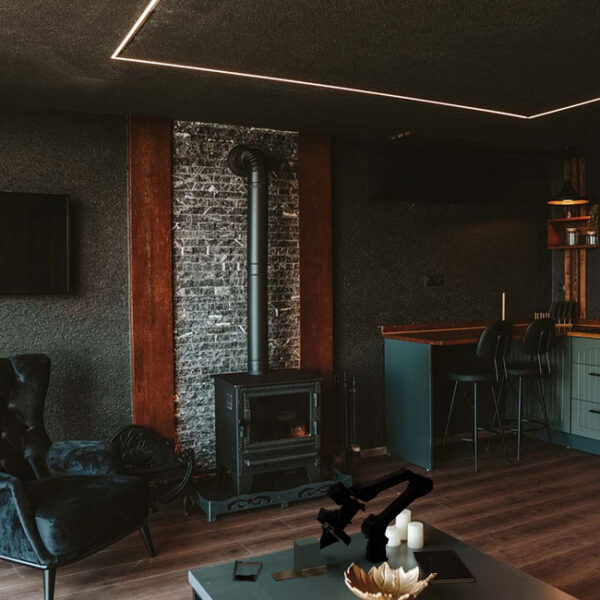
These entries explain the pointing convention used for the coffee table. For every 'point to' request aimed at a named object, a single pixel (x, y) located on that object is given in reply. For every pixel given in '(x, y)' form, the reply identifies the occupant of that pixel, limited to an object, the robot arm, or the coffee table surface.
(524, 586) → the coffee table surface
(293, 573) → the chute
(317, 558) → the block
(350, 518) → the robot arm
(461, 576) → the hardcover book
